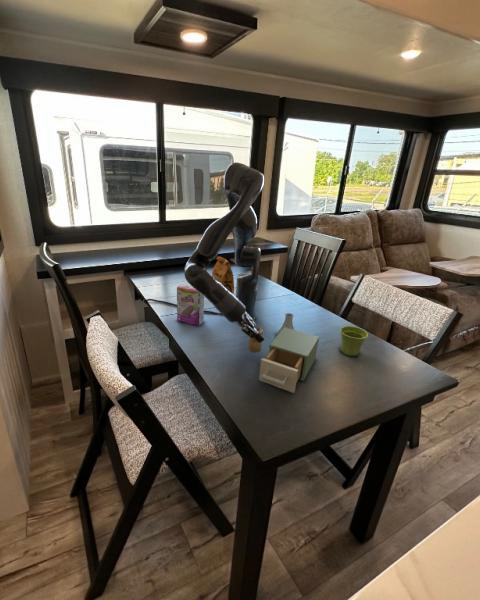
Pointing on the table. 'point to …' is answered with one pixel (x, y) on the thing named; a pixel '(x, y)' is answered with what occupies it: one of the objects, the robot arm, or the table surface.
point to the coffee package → (224, 274)
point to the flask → (287, 322)
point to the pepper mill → (255, 341)
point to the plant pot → (352, 339)
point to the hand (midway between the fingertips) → (261, 336)
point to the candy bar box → (190, 305)
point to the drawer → (281, 369)
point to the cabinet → (297, 346)
